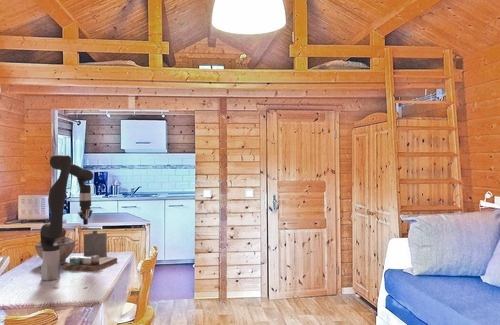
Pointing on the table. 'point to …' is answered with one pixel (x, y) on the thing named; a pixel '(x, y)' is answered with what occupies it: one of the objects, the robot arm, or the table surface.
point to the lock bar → (88, 259)
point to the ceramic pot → (65, 247)
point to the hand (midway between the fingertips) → (85, 224)
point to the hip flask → (95, 244)
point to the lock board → (76, 264)
